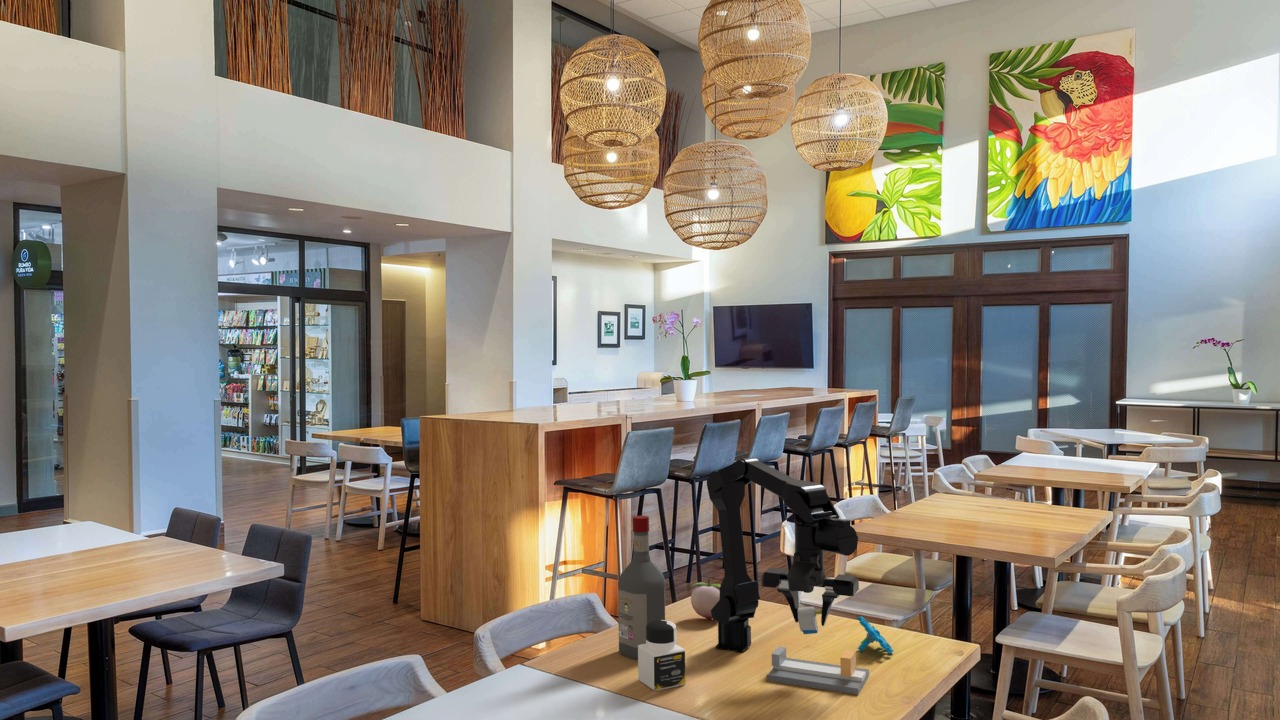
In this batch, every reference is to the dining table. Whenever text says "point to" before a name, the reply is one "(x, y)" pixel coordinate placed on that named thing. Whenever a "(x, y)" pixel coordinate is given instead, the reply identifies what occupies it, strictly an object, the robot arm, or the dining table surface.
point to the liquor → (639, 593)
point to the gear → (872, 636)
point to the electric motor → (808, 619)
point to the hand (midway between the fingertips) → (809, 623)
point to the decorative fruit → (705, 598)
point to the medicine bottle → (661, 657)
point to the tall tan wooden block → (848, 663)
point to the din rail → (814, 674)
